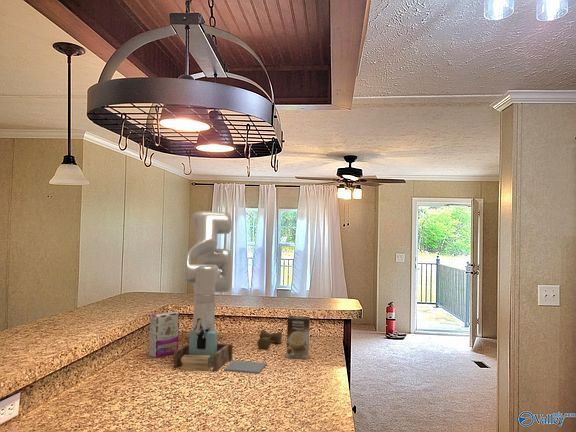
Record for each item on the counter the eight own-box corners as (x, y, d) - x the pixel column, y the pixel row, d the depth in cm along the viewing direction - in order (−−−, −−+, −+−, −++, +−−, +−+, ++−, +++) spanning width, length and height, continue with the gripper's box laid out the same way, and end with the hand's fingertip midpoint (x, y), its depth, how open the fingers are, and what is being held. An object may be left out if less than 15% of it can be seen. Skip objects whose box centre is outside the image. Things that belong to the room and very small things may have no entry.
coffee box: (285, 358, 185) (286, 318, 185) (287, 354, 191) (288, 315, 192) (308, 359, 184) (309, 319, 184) (309, 355, 190) (310, 316, 191)
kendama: (251, 350, 199) (264, 339, 218) (273, 352, 197) (283, 341, 216) (252, 336, 199) (264, 326, 218) (273, 338, 197) (284, 328, 216)
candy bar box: (170, 351, 191) (172, 311, 192) (178, 353, 188) (180, 312, 189) (148, 356, 182) (149, 314, 183) (155, 358, 179) (157, 316, 180)
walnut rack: (188, 356, 183) (189, 341, 183) (232, 359, 180) (232, 344, 180) (171, 367, 167) (171, 351, 167) (218, 371, 163) (218, 354, 164)
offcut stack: (183, 367, 169) (184, 354, 169) (210, 367, 169) (211, 355, 169) (180, 371, 164) (180, 358, 164) (208, 371, 164) (208, 359, 164)
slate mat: (233, 362, 177) (233, 360, 177) (266, 364, 174) (266, 363, 174) (223, 370, 165) (224, 369, 165) (259, 373, 162) (259, 371, 163)
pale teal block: (191, 361, 175) (192, 330, 176) (216, 363, 173) (217, 331, 174) (188, 364, 172) (189, 331, 173) (213, 366, 170) (214, 333, 171)
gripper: (203, 295, 183) (201, 342, 182) (186, 301, 167) (184, 352, 166) (221, 296, 181) (219, 343, 180) (206, 302, 165) (204, 353, 164)
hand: (203, 347), depth 173 cm, fingers closed on pale teal block, 3 cm apart
